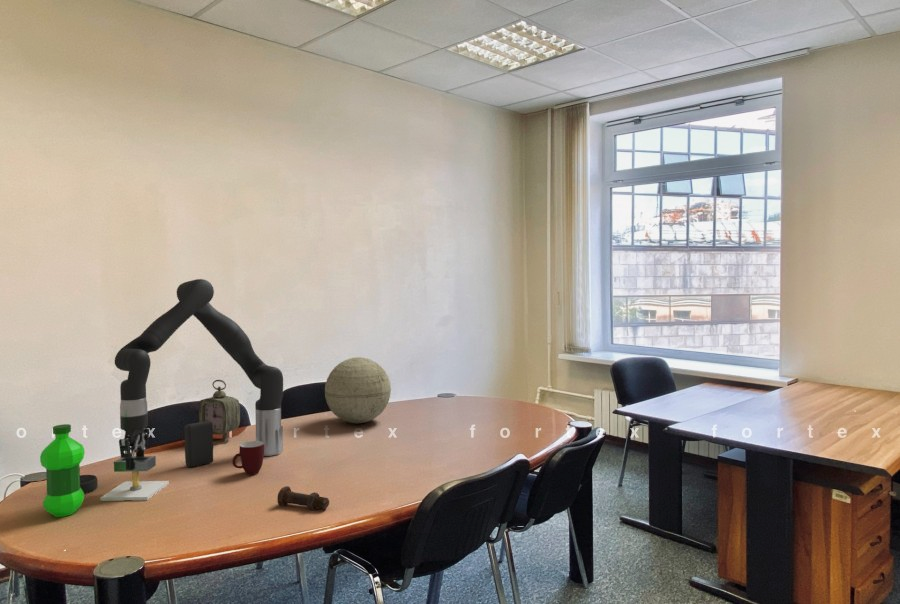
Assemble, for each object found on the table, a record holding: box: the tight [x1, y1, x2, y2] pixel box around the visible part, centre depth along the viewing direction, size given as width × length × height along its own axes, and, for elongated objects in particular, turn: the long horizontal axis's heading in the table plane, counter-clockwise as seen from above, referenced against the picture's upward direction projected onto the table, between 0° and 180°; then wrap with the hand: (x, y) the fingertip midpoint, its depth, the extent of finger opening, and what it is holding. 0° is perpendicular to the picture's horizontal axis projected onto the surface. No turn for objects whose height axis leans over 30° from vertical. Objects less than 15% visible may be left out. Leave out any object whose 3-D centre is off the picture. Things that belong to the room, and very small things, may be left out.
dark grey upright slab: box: [183, 421, 214, 468], centre depth 210 cm, size 9×4×15 cm, turn 134°
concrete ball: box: [324, 356, 392, 424], centre depth 270 cm, size 30×30×30 cm
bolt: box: [277, 485, 330, 511], centre depth 171 cm, size 6×5×15 cm
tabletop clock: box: [198, 379, 241, 444], centre depth 242 cm, size 14×9×25 cm, turn 68°
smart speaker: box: [80, 474, 99, 495], centre depth 185 cm, size 9×9×4 cm
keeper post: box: [99, 471, 170, 502], centre depth 183 cm, size 14×14×7 cm
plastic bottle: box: [39, 423, 85, 518], centre depth 167 cm, size 10×10×25 cm
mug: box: [232, 440, 265, 476], centre depth 200 cm, size 11×8×10 cm
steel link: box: [113, 455, 157, 473], centre depth 183 cm, size 10×6×3 cm, turn 91°
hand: (135, 466), depth 183 cm, fingers closed on steel link, 5 cm apart
